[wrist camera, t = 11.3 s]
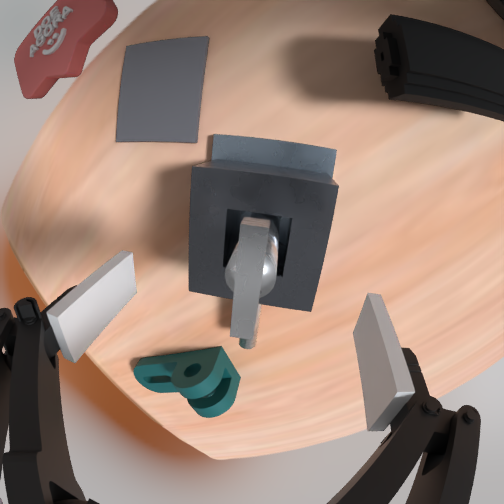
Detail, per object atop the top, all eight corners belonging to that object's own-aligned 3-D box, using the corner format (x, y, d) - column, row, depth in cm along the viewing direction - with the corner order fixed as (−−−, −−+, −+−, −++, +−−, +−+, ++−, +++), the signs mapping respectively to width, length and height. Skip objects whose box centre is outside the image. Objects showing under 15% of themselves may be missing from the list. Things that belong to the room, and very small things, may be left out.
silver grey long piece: (254, 183, 27) (224, 221, 14) (284, 187, 27) (285, 230, 14) (246, 248, 30) (216, 333, 16) (275, 253, 30) (266, 341, 16)
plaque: (27, 118, 25) (10, 55, 20) (45, 117, 28) (26, 56, 24) (114, 22, 19) (85, -31, 15) (131, 30, 23) (100, -23, 18)
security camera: (499, 125, 20) (553, 131, 11) (367, 104, 23) (403, 89, 14) (493, 73, 17) (544, 65, 8) (359, 43, 20) (386, 5, 11)
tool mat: (129, 47, 23) (126, 46, 23) (209, 37, 22) (207, 36, 22) (119, 141, 28) (116, 141, 28) (197, 142, 27) (195, 142, 27)
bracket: (221, 345, 38) (207, 386, 30) (240, 376, 40) (230, 416, 33) (132, 358, 43) (111, 389, 35) (152, 384, 45) (135, 415, 37)
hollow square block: (216, 134, 27) (188, 133, 19) (335, 149, 25) (350, 153, 18) (206, 317, 36) (186, 358, 28) (297, 332, 35) (296, 378, 27)
